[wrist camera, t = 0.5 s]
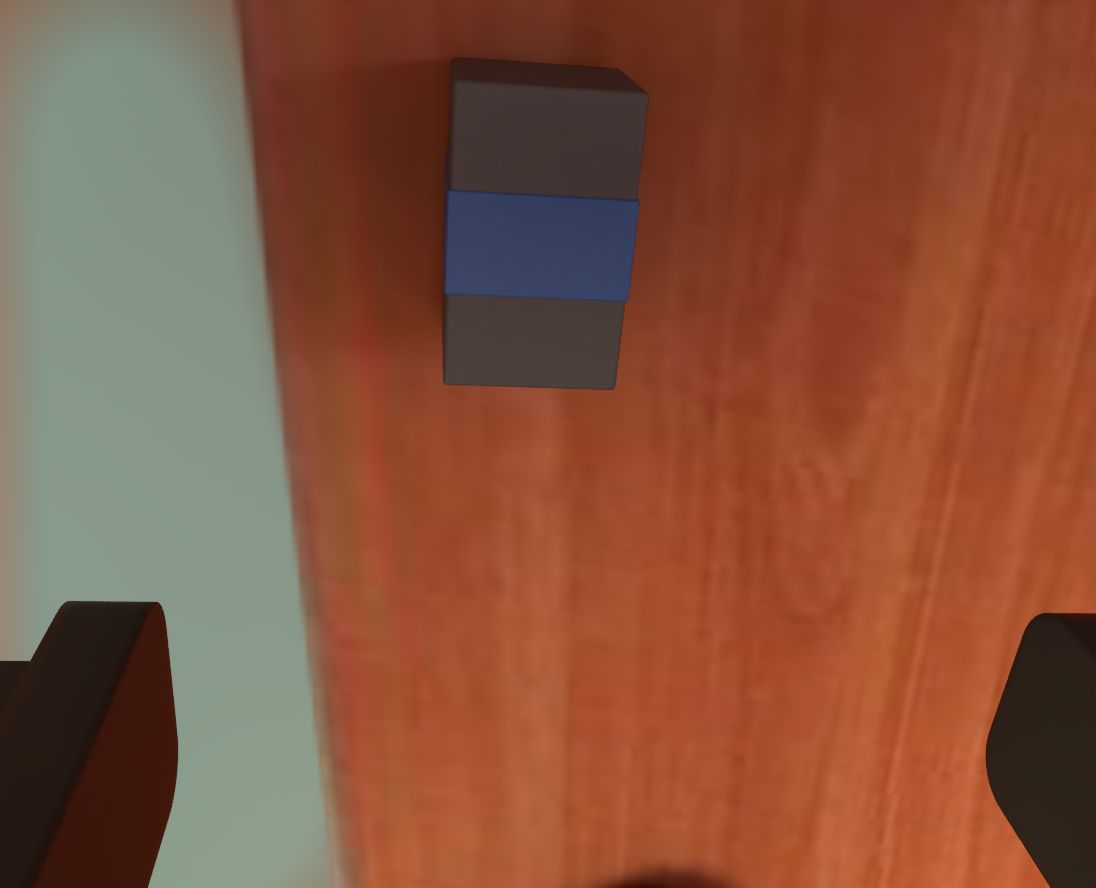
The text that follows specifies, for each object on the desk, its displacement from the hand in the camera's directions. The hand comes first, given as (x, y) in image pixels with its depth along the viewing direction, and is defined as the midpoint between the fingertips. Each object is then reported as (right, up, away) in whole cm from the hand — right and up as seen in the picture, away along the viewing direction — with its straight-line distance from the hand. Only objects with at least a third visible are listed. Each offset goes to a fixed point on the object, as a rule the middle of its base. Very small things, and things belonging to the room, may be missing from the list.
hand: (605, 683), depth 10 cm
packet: (-1, +8, +17) cm, 19 cm away
